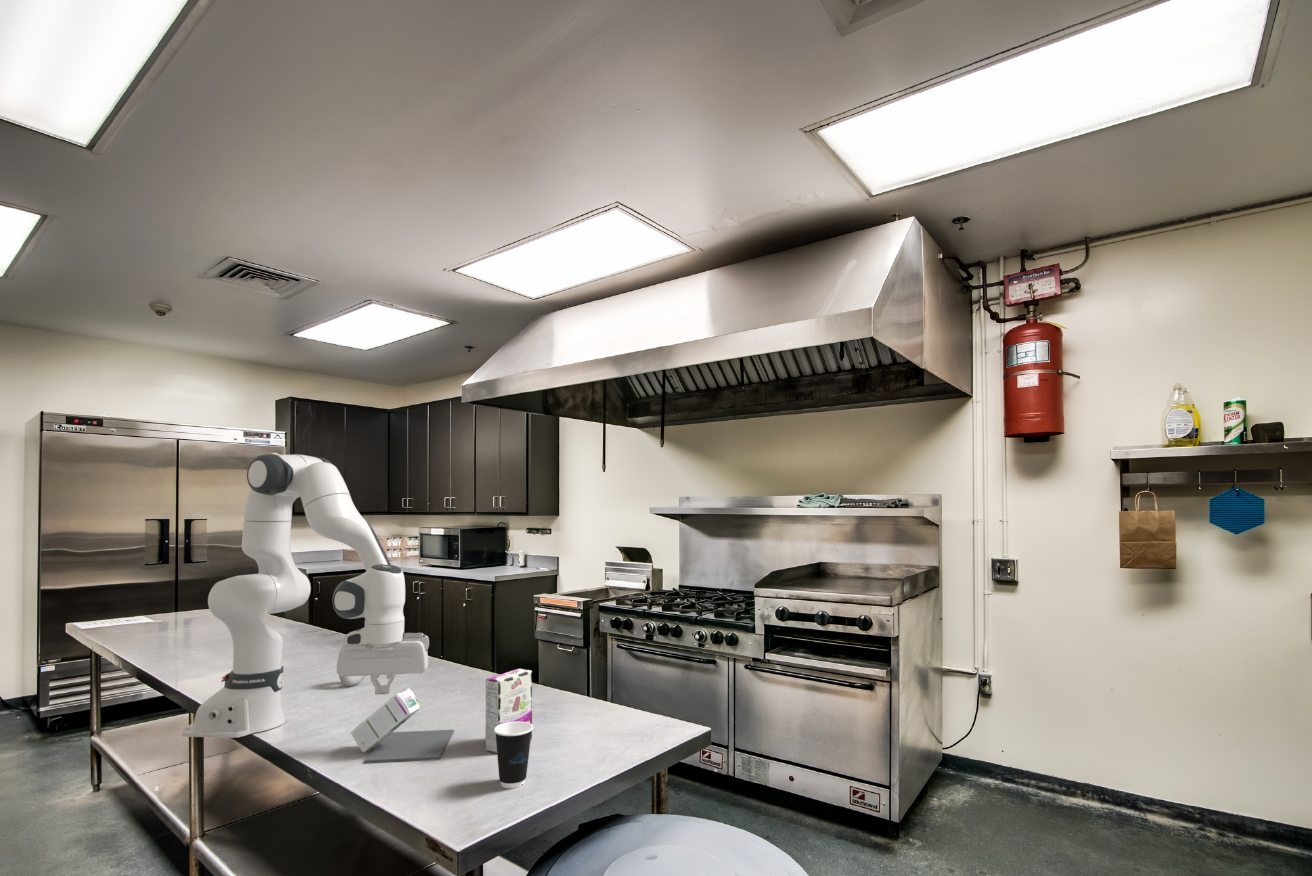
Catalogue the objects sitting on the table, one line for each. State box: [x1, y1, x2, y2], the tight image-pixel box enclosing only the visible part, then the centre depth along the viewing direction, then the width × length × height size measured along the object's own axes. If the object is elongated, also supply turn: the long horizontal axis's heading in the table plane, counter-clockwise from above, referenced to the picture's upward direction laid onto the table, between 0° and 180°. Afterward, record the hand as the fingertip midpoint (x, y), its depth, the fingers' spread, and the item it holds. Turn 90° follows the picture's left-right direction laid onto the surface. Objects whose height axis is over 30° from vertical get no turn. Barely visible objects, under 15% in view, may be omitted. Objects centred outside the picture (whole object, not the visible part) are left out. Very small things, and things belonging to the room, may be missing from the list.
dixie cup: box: [494, 722, 534, 789], centre depth 133 cm, size 8×8×11 cm
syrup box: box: [350, 687, 422, 753], centre depth 152 cm, size 6×6×14 cm
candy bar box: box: [484, 668, 533, 754], centre depth 155 cm, size 11×5×16 cm, turn 148°
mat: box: [364, 729, 455, 764], centre depth 153 cm, size 16×18×1 cm
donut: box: [338, 675, 367, 687], centre depth 206 cm, size 10×3×10 cm, turn 152°
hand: (382, 693), depth 154 cm, fingers closed
